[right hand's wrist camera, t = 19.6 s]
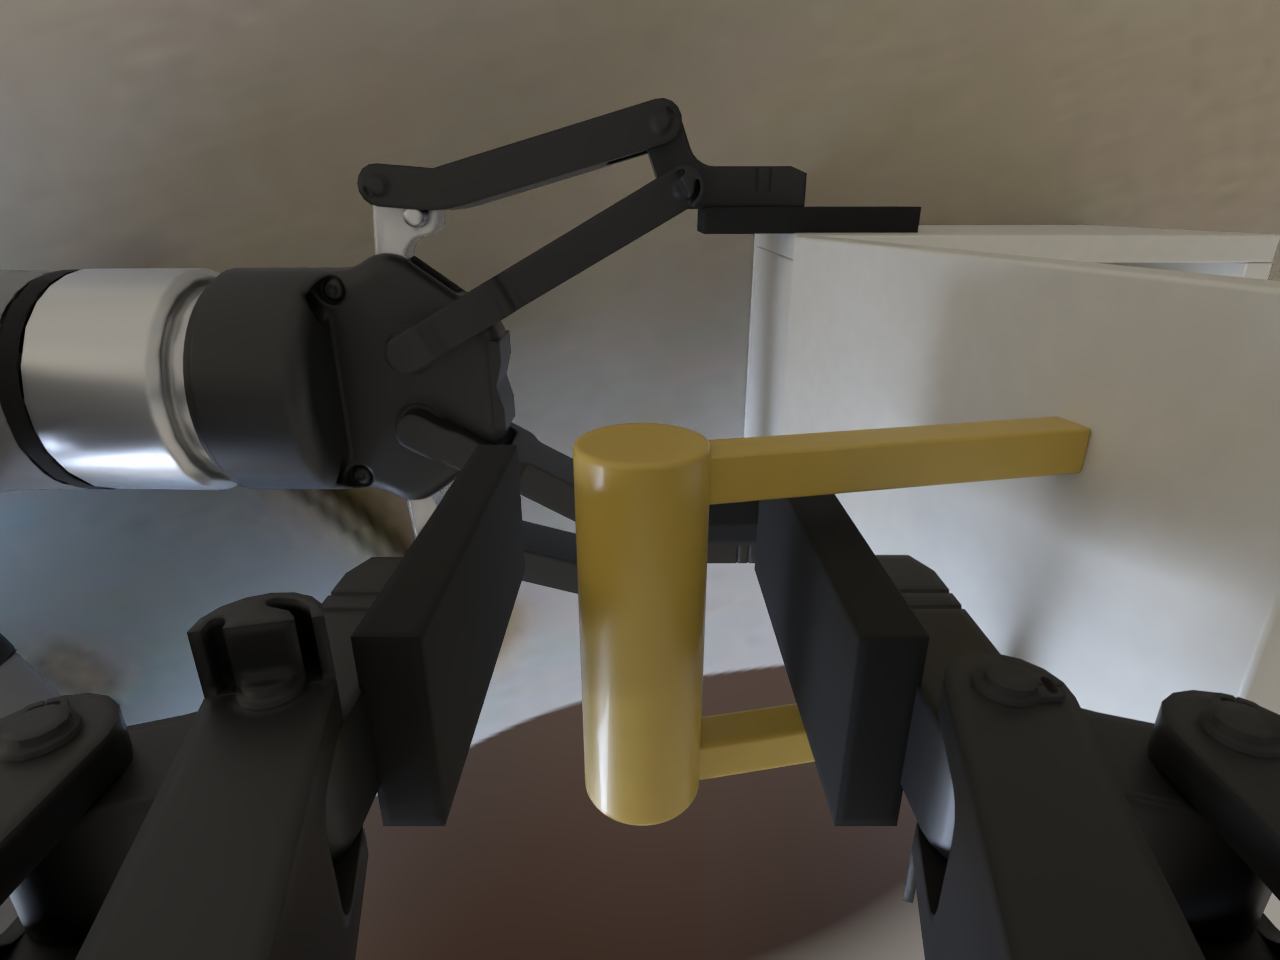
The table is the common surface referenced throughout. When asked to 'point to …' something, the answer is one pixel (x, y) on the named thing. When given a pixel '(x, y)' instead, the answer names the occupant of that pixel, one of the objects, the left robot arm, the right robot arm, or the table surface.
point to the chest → (1046, 241)
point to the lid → (959, 493)
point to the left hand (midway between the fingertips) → (883, 379)
